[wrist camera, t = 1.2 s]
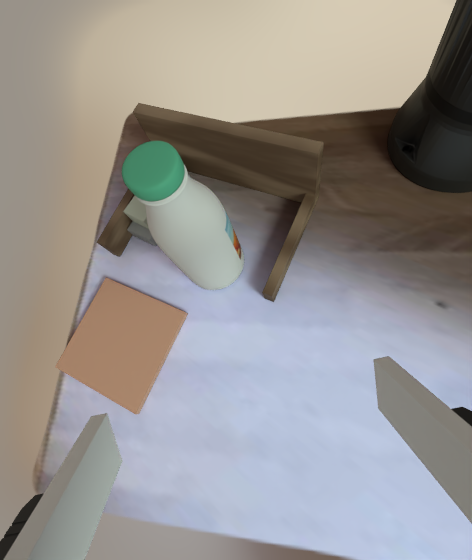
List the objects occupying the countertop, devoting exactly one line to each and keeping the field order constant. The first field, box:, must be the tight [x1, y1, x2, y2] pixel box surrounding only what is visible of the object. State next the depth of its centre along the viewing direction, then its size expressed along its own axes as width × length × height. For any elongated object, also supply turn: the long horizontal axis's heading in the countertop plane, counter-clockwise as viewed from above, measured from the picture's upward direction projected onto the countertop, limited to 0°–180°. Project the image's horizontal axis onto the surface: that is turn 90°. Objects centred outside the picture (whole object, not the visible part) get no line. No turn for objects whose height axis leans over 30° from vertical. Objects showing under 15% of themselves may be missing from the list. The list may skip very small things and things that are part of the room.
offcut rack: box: [97, 103, 324, 302], centre depth 39 cm, size 18×24×10 cm
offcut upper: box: [123, 196, 149, 229], centre depth 43 cm, size 9×4×2 cm, turn 149°
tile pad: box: [56, 278, 188, 414], centre depth 40 cm, size 13×13×1 cm
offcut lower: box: [127, 175, 191, 246], centre depth 45 cm, size 11×4×2 cm, turn 152°
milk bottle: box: [122, 141, 244, 290], centre depth 32 cm, size 8×8×20 cm
